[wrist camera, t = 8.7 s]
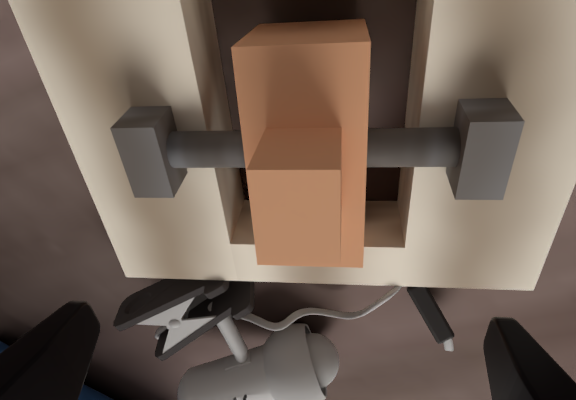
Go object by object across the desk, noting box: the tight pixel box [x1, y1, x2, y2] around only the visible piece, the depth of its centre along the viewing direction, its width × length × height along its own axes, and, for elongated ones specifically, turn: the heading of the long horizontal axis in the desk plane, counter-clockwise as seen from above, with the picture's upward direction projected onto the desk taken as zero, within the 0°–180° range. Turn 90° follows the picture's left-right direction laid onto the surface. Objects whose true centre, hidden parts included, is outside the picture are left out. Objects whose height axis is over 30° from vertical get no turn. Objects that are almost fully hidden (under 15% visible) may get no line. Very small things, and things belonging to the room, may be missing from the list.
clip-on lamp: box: [113, 279, 454, 400], centre depth 25 cm, size 12×6×18 cm
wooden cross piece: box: [231, 19, 371, 268], centre depth 15 cm, size 4×8×8 cm, turn 4°
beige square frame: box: [8, 0, 576, 291], centre depth 17 cm, size 20×16×5 cm
